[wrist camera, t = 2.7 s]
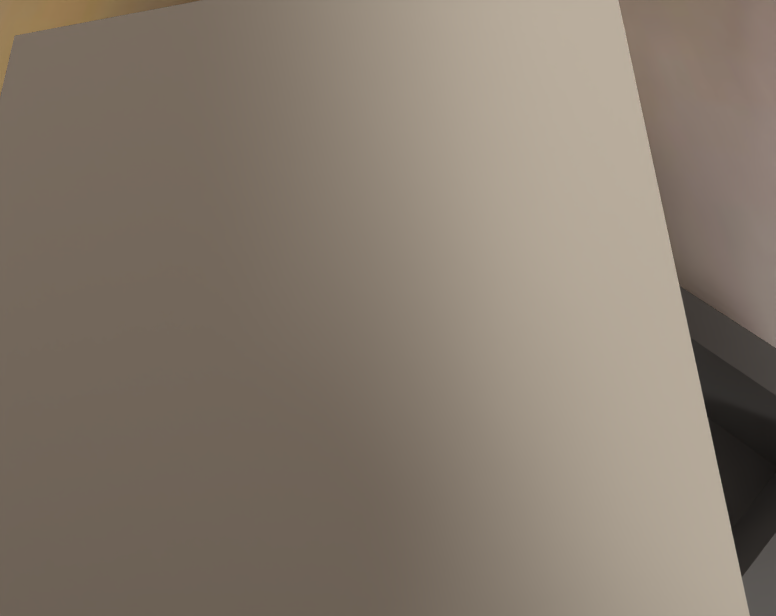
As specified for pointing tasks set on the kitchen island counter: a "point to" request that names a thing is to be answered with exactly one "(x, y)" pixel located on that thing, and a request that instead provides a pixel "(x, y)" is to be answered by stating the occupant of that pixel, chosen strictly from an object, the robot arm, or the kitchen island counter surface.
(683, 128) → the kitchen island counter surface
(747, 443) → the tub
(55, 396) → the carton
